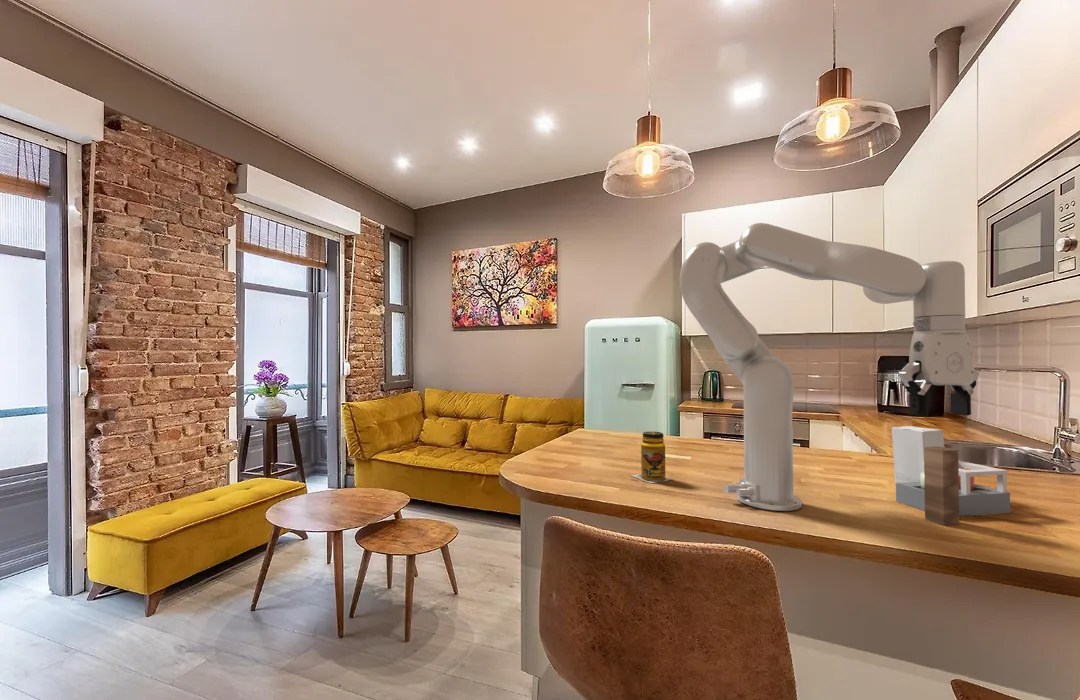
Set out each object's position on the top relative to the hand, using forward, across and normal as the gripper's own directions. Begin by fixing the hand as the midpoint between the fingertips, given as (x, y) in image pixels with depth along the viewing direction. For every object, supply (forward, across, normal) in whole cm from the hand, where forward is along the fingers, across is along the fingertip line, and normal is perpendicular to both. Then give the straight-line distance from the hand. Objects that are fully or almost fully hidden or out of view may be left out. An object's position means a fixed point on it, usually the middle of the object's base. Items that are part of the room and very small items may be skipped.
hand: (940, 415), depth 87 cm
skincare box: (+21, +16, +17) cm, 31 cm away
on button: (+17, +6, +7) cm, 19 cm away
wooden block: (+20, 0, 0) cm, 20 cm away
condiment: (+21, -42, +39) cm, 61 cm away
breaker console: (+20, +11, +6) cm, 24 cm away
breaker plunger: (+17, +14, +7) cm, 23 cm away
